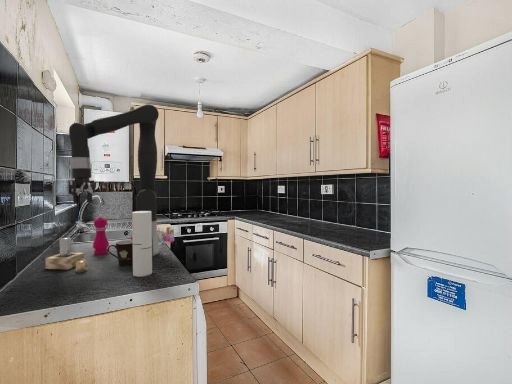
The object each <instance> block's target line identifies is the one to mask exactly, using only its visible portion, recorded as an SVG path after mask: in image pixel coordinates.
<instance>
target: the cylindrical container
mask: <svg viewBox="0 0 512 384" xmlns="http://www.w3.org/2000/svg"><path fill="white" fill-rule="evenodd" d="M131 214H132V215H131V218H132V219H131V220H132V222H131V224H132V225H131V226H132V228H131V229H132V236H133V265H132V276H133V277H146V276H150V275H152V274H153V256H152V217H151V211H137V210H136V211H132V213H131Z"/></svg>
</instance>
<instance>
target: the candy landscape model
mask: <svg viewBox="0 0 512 384" xmlns="http://www.w3.org/2000/svg"><path fill="white" fill-rule="evenodd" d="M174 230H175V229H174V228H173V229H171V227H170V226H166V231H164V230H163V229H161V228H158V227H157V235H158V236H159V246H161V245H166V244H171V243H173V242H175V232H174ZM130 240H133V235H131V236H130Z"/></svg>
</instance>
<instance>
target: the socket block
mask: <svg viewBox="0 0 512 384" xmlns="http://www.w3.org/2000/svg"><path fill="white" fill-rule="evenodd" d="M80 260H86V259H85V252H72V251H71V256H69V257H60V253H58V254H53V255H51V256H48V257H46V258H45V269H46V270H47V269H48V270H70V269H73V268H74V267H75V268H76V261H80Z"/></svg>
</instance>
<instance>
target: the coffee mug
mask: <svg viewBox="0 0 512 384" xmlns="http://www.w3.org/2000/svg"><path fill="white" fill-rule="evenodd" d="M111 247H114V248H115V249H116V254H114V253H112V252H111V251H110V248H111ZM107 249H108V253H109V254H110V255H111V256H113V257H114V258H116V259H117V261H118V266H120V267H129V266H133V240H131V239H125V240H119V241H116V242H115V244H111V245H110V244H109V246H108V247H107Z"/></svg>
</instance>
